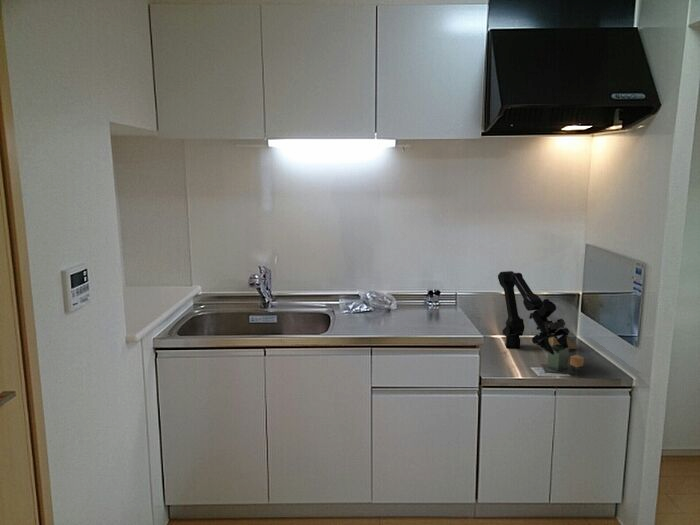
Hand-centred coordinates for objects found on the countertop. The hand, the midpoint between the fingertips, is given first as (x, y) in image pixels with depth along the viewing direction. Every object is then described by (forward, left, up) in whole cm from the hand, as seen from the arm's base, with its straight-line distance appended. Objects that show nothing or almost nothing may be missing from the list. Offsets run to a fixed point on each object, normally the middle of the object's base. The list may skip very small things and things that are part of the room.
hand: (560, 352), depth 219 cm
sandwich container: (+8, +33, -9) cm, 35 cm away
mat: (-1, +1, -9) cm, 9 cm away
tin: (-1, +1, -8) cm, 8 cm away
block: (+9, +8, -9) cm, 15 cm away
